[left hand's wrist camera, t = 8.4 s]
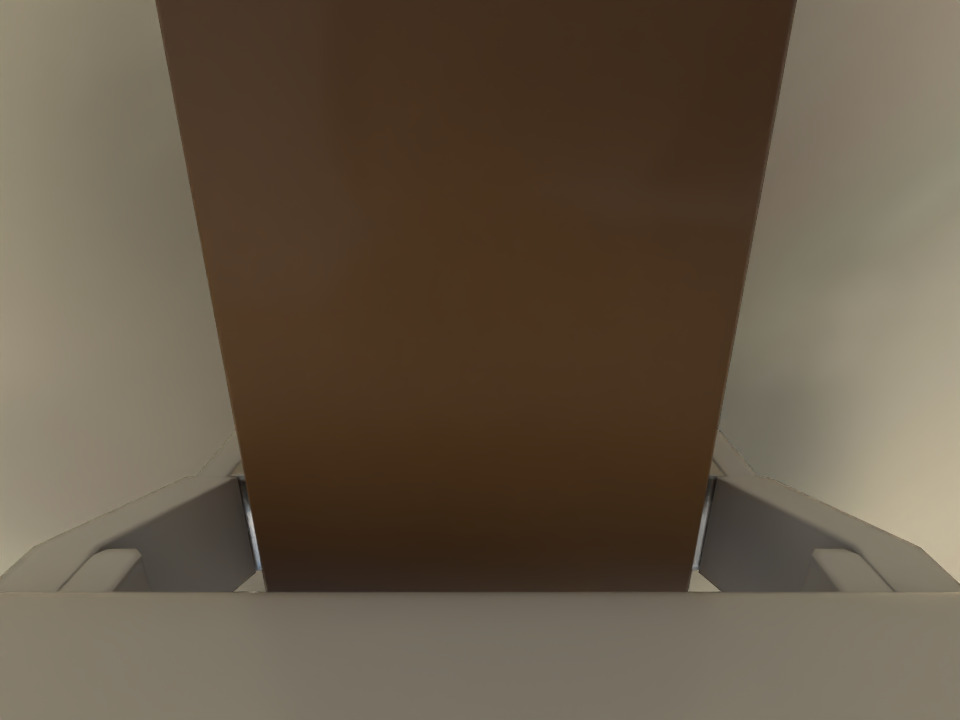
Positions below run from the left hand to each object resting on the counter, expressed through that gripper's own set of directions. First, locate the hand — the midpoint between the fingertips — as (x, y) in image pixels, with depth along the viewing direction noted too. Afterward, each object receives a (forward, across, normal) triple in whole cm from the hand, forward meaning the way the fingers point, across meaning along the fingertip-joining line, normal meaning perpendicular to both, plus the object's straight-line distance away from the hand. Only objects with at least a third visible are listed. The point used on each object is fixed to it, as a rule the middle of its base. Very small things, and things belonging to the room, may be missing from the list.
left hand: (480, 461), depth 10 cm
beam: (+3, 0, -20) cm, 20 cm away
